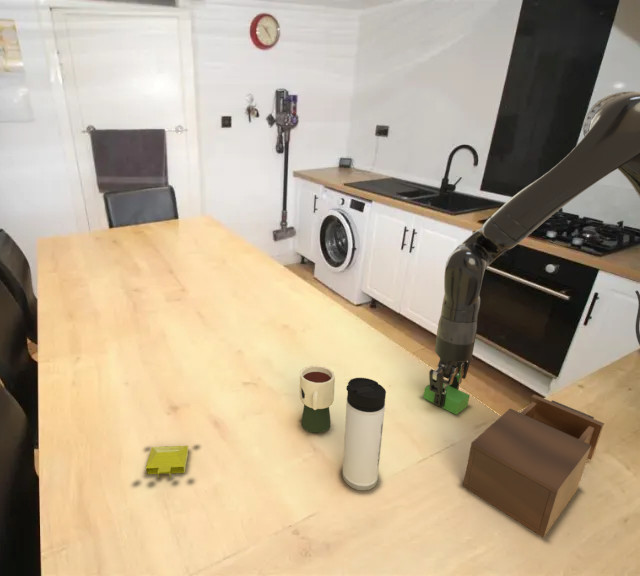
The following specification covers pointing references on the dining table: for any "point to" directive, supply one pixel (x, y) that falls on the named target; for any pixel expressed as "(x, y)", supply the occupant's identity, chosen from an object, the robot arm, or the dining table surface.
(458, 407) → the green block
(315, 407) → the character mug
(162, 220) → the dining table surface
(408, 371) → the dining table surface
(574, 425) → the drawer
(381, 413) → the travel mug
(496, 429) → the cabinet
